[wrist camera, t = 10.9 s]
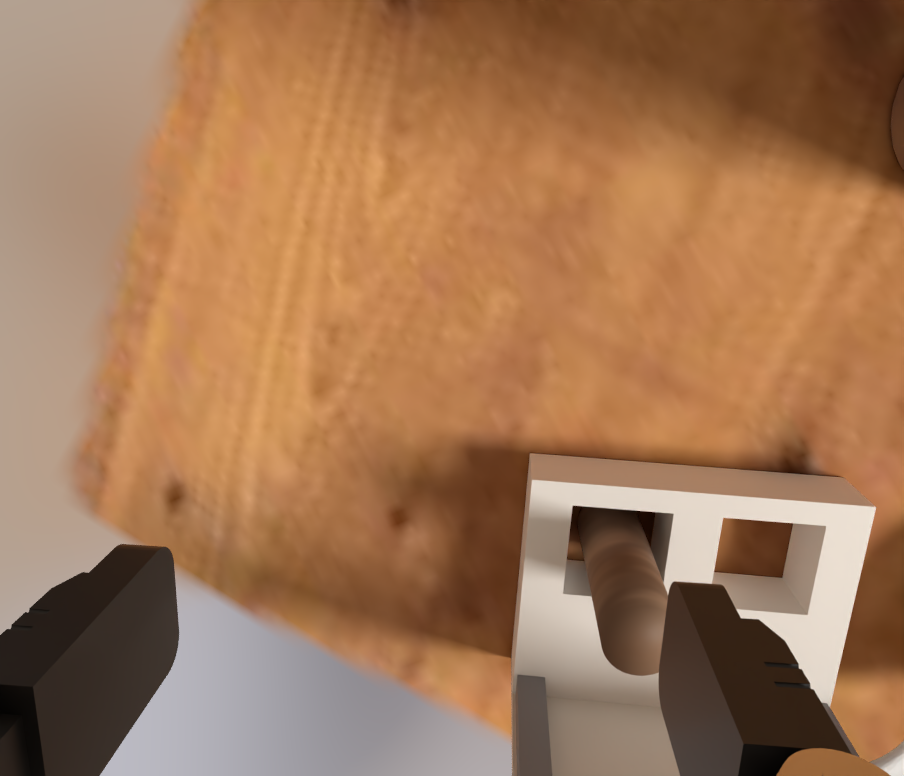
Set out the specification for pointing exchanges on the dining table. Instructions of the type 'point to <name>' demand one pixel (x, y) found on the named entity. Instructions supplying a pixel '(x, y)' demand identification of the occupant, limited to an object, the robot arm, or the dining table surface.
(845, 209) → the dining table surface
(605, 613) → the walnut dowel
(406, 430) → the dining table surface
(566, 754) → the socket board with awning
